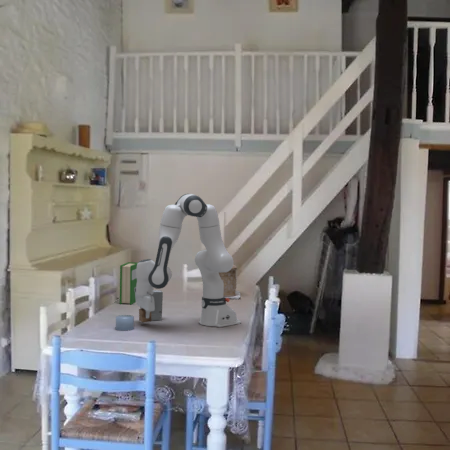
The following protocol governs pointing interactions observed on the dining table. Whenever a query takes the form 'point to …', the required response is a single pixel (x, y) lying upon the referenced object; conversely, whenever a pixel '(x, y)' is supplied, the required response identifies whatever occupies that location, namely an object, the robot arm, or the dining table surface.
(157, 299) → the skincare box
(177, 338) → the dining table surface
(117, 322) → the canister
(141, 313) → the walnut block
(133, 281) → the hardback book
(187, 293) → the dining table surface
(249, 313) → the dining table surface
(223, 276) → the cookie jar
